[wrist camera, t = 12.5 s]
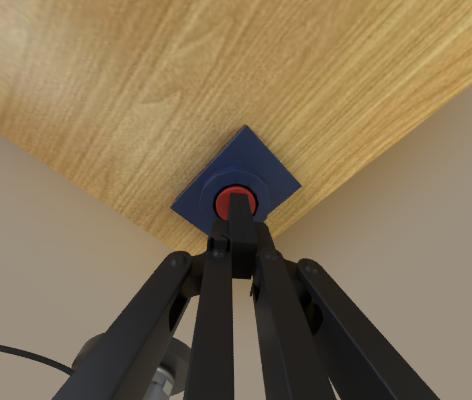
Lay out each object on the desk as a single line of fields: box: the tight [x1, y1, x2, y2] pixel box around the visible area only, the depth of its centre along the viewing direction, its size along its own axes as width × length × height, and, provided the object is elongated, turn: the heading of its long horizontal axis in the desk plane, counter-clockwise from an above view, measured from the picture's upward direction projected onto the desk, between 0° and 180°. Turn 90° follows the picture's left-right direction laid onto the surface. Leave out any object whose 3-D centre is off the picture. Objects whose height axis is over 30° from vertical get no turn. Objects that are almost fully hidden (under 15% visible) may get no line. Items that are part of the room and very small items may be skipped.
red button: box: [216, 183, 255, 220], centre depth 17 cm, size 4×4×2 cm
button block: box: [170, 125, 301, 236], centre depth 18 cm, size 11×8×4 cm
